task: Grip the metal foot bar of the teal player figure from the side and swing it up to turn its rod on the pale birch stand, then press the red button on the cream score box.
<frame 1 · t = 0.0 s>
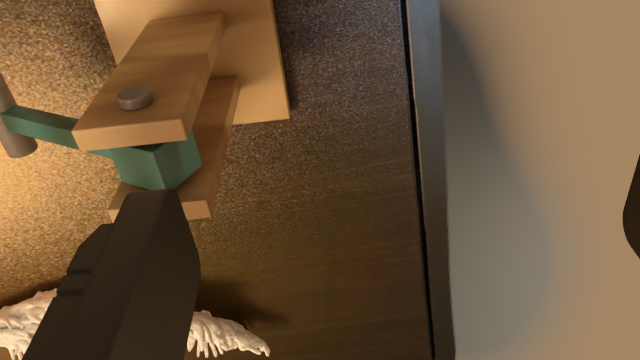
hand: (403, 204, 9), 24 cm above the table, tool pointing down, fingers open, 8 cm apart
rod stand: (200, 48, 33), on the table
sculpture: (128, 299, 46), on the table
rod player: (77, 134, 25), point 9 cm above the table, hinge at -30.0°
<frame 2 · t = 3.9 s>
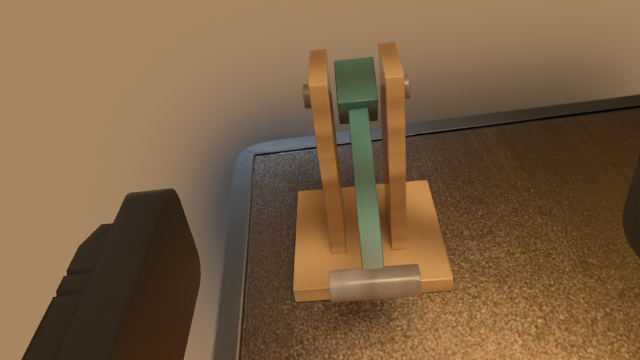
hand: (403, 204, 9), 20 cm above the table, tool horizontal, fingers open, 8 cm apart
rod stand: (367, 241, 37), on the table
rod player: (364, 174, 28), point 9 cm above the table, hinge at -30.0°
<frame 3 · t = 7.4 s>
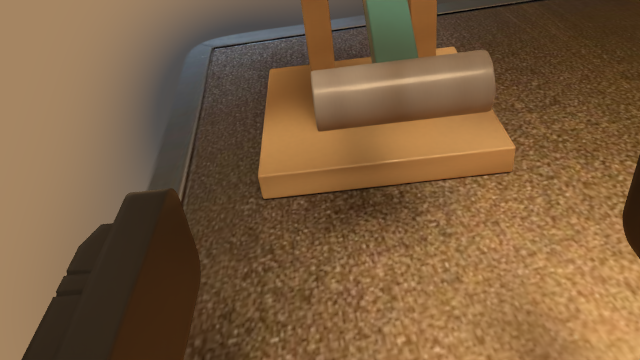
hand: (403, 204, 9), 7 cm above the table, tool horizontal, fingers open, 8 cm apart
rod stand: (372, 123, 25), on the table
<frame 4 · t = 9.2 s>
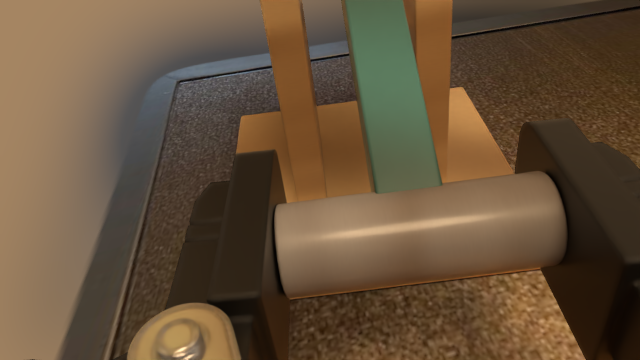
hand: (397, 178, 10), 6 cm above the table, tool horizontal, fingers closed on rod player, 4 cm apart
rod stand: (366, 189, 20), on the table
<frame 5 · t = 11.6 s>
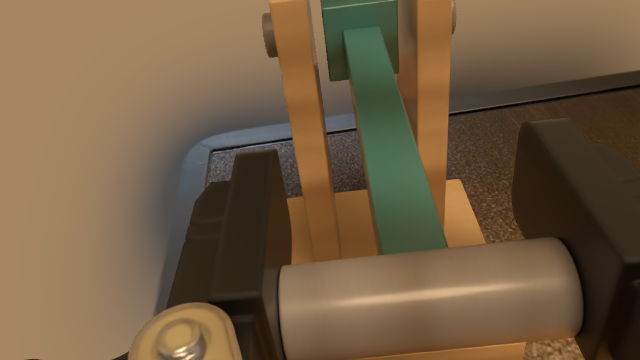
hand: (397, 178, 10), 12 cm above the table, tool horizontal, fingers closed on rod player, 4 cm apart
rod stand: (376, 276, 24), on the table
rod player: (377, 108, 13), point 12 cm above the table, hinge at -1.7°, touching gripper
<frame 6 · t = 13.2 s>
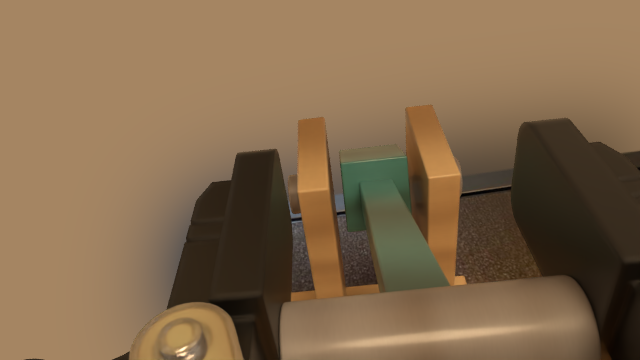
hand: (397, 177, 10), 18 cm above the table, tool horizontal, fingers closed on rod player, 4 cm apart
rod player: (389, 228, 14), point 14 cm above the table, hinge at 25.2°, touching gripper
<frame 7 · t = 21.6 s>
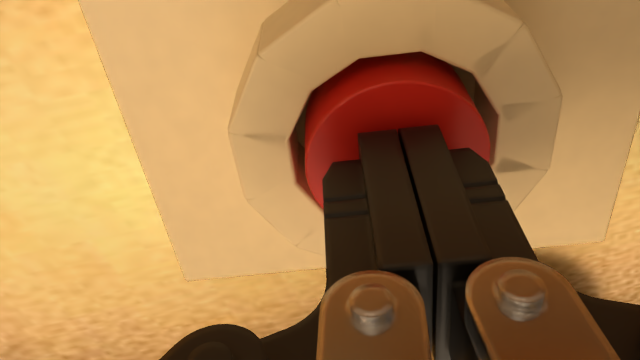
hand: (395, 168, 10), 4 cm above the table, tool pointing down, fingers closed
score box: (375, 77, 13), on the table
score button: (391, 142, 11), point 3 cm above the table, slide at -0.7 cm, touching gripper
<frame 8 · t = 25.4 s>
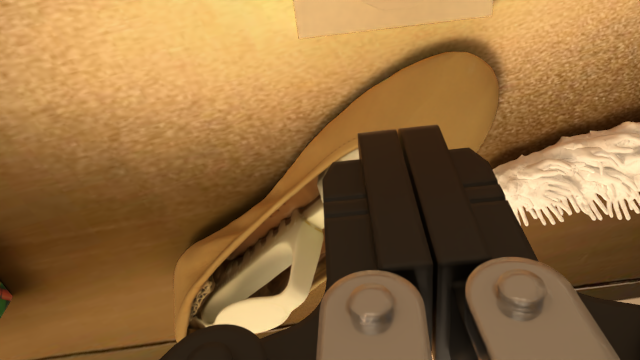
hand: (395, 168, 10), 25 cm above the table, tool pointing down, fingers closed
ballet flat: (318, 185, 42), on the table
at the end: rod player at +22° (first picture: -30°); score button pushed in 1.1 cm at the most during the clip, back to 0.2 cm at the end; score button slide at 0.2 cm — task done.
